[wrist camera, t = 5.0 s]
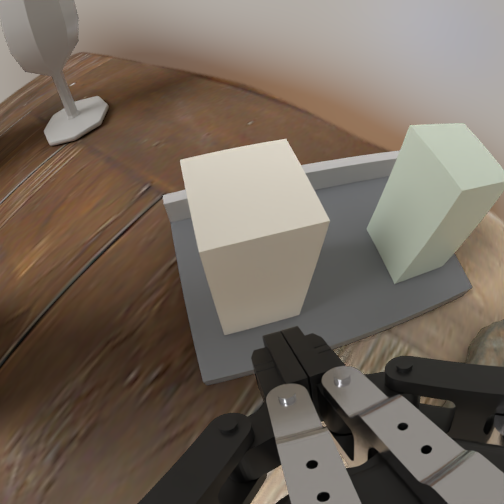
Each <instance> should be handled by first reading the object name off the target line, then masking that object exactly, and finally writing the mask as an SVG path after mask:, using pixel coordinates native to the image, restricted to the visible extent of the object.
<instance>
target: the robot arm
mask: <svg viewBox="0 0 504 504" xmlns="http://www.w3.org/2000/svg"><path fill="white" fill-rule="evenodd" d="M262 337H263V343H264V348H260V349H257V350H254V351H253V354H252V357H251V360H252V364H253V368H254V372H255V376H256V379H257V383H258V387H259V390H260V393H261V395H262V398H263V401H264V404H263V406H262V407H261V408H260V409H259V410H258V411H257V412H255V413H254V414H252V415H250V416H248V417H247V416H245V415H243V414H240V413H228V414H224V415H221V416H219V417H217V418H215V419H214V420H213V421H212V422H211V423H210V424H209V425H208V426H207V428H206V429H205V430H204V431H203V432H202V433H201V435H200V436H199V437H198V438H197V439H196V440H195V442H194V443H193V444H192V445H191V446H190V447H189V448H188V450H187V451H186V452H185V453H184V454H183V455H182V456H181V457H180V459H179V460H178V461H177V462H176V463H175V464H174V465H173V466H172V468H171V469H170V470H169V471H168V472H167V473H166V474H165V475H164V476H163V477H162V478H161V480H160V481H159V482H158V483H157V484H156V485H155V486H154V487H153V488H152V489H151V490H150V491H149V492H148V493H147V494H146V495H145V497H144V498H143V499H142V500H141V501H140V502H139V503H138V504H250V503H251V502H252V500H253V499H254V497H255V496H256V494H257V492H258V491H259V489H260V488H261V486H262V484H263V483H264V481H265V479H266V477H267V473H268V472H270V471H271V470H273V469H275V468H276V467H278V466H280V465H282V469H283V473H284V477H285V481H286V485H287V489H288V493H289V494H288V495H287V496H285V497H284V498H282V499H281V500H279V501H278V502H277V503H276V504H504V367H499V366H488V365H478V364H468V363H459V362H451V361H442V360H435V359H427V358H420V357H413V356H400V357H396V358H394V359H392V360H390V361H389V362H388V363H387V364H386V366H385V372H380V373H374V374H362V373H361V372H360V371H359V370H358V369H356V368H354V367H350V366H345V365H344V363H343V362H342V361H341V360H340V358H339V357H338V356H337V355H336V354H335V352H334V351H333V350H331V348H330V346H329V345H327V343H326V342H325V340H324V339H323V338H322V337H320V336H318V335H316V334H314V333H311V334H308V335H304V334H303V332H302V331H301V330H300V328H299V327H298V326H295V327H291V328H288V329H284V330H281V331H278V332H274V333H270V334H267V335H263V336H262ZM420 396H424V397H430V398H436V399H443V400H449V401H451V402H453V403H454V404H455V406H456V407H454V408H446V407H439V406H433V405H427V404H421V403H420ZM322 421H324V422H325V424H326V427H323V426H322V424H321V422H322ZM338 451H339V452H338ZM339 453H340V454H341V455H342V457H343V458H344V460H345V461H346V462H347V464H348V465H349V467H350V468H345V466H344V463H343V461H342V459H341V457H340V454H339Z"/></svg>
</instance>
